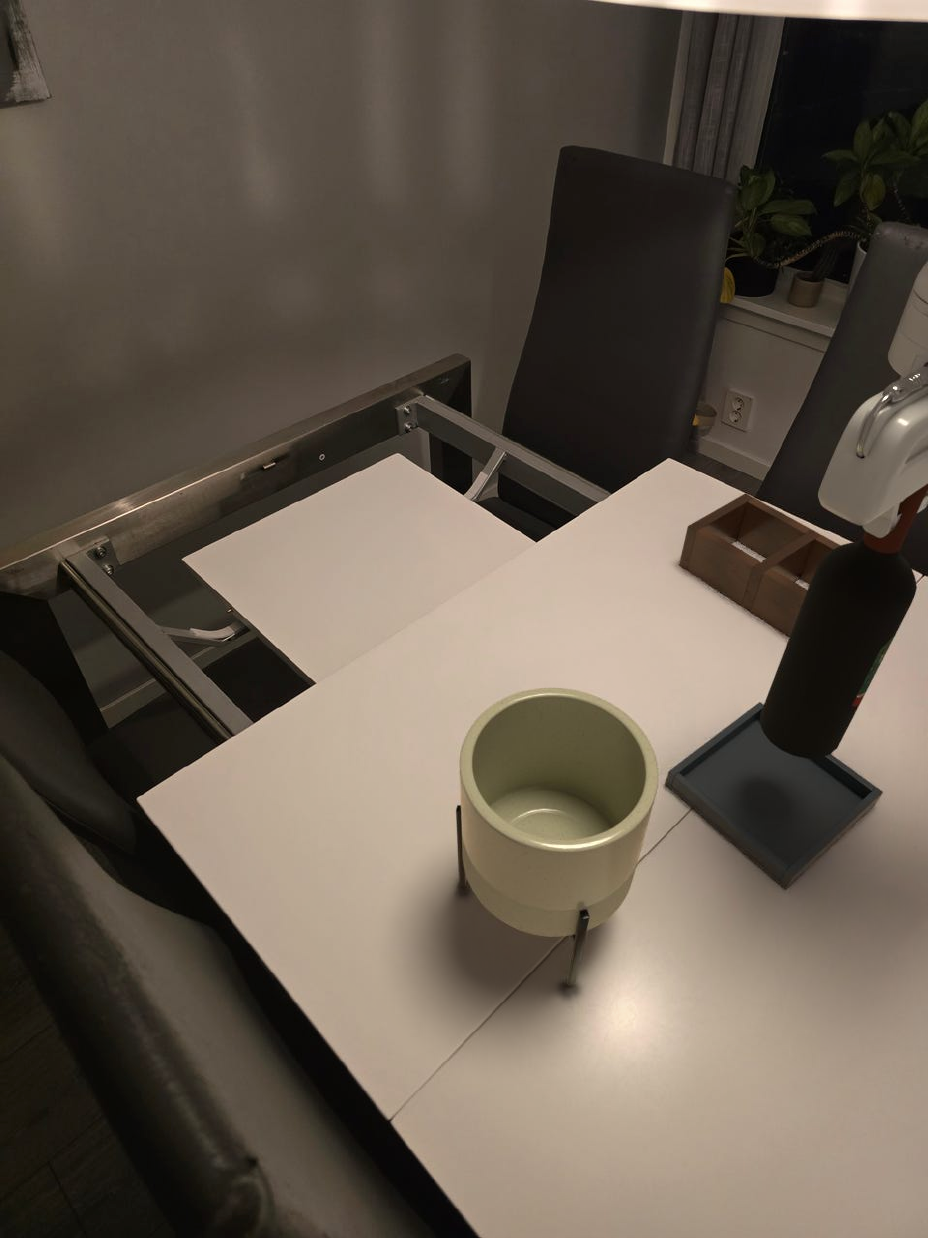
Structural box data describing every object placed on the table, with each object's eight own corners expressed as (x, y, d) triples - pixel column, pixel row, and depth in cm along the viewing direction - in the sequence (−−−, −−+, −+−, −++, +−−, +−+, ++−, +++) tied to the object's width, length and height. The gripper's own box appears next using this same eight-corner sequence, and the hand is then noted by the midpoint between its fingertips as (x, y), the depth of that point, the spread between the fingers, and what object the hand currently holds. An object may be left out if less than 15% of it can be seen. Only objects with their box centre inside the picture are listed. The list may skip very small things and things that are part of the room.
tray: (875, 804, 83) (883, 791, 82) (785, 889, 77) (792, 877, 75) (754, 714, 92) (759, 701, 91) (664, 784, 86) (668, 771, 84)
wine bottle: (755, 694, 80) (849, 433, 59) (832, 701, 79) (956, 438, 58) (765, 754, 74) (873, 491, 53) (848, 762, 73) (991, 498, 52)
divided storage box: (877, 616, 104) (897, 576, 99) (821, 658, 99) (839, 618, 94) (734, 531, 117) (745, 492, 113) (678, 565, 112) (687, 525, 107)
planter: (656, 895, 76) (703, 754, 60) (551, 1018, 68) (573, 893, 52) (538, 801, 84) (551, 655, 68) (431, 902, 76) (418, 763, 60)
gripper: (930, 415, 43) (850, 600, 53) (1096, 315, 52) (1001, 489, 61) (830, 374, 47) (771, 554, 56) (1000, 287, 56) (925, 456, 65)
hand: (892, 519), depth 59 cm, fingers closed on wine bottle, 3 cm apart
